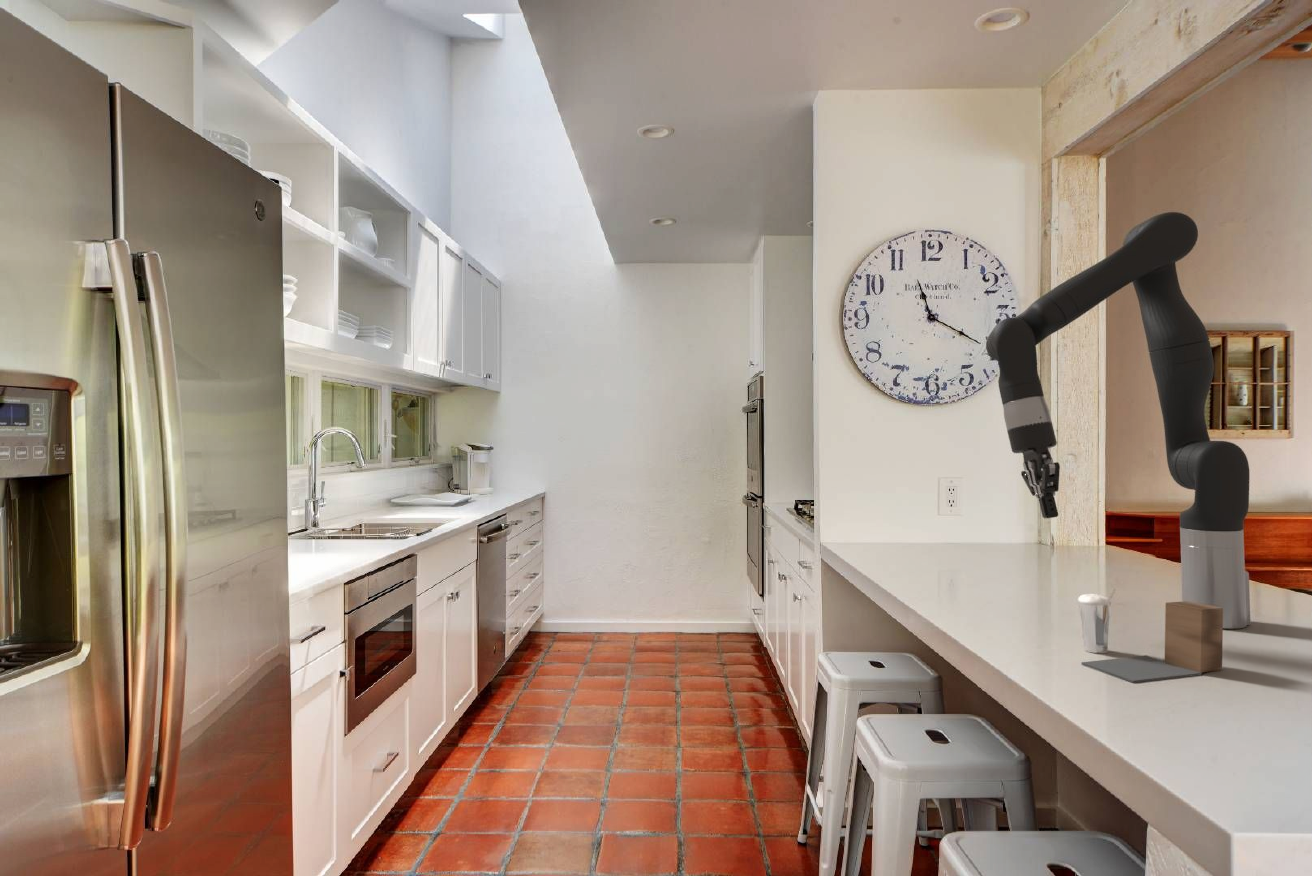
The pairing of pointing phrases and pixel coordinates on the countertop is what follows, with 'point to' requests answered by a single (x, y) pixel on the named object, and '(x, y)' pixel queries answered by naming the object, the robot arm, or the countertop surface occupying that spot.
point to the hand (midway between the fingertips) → (1050, 517)
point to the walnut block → (1194, 636)
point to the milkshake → (1095, 621)
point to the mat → (1140, 669)
